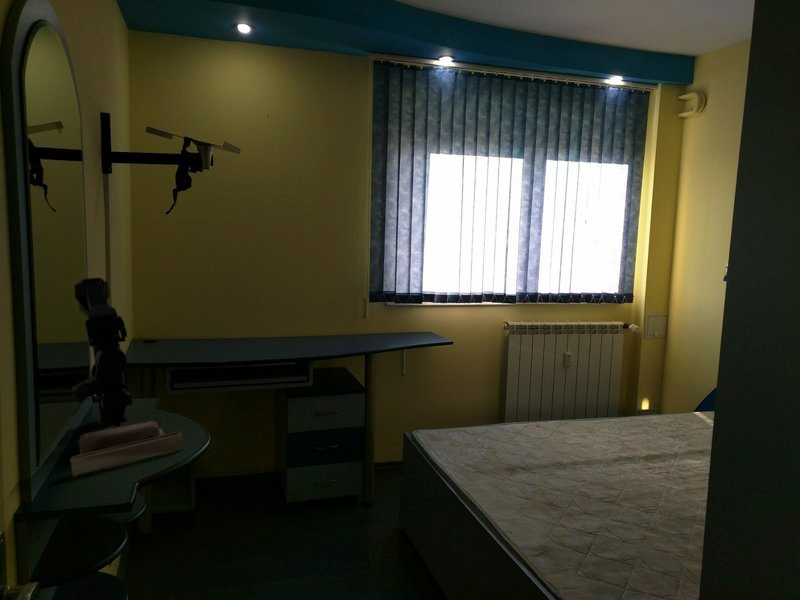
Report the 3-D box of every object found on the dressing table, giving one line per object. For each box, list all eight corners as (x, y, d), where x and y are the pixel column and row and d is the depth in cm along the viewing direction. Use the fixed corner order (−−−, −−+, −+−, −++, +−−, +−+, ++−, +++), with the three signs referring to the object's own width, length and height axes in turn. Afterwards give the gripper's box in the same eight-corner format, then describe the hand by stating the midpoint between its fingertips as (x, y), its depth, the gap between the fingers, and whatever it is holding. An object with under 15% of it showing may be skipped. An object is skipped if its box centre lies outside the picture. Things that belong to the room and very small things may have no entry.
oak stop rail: (72, 473, 122) (69, 456, 121) (181, 446, 133) (180, 430, 133) (73, 477, 120) (70, 459, 120) (183, 449, 132) (182, 433, 131)
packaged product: (77, 444, 126) (77, 430, 135) (80, 465, 127) (79, 450, 136) (166, 425, 135) (160, 413, 144) (168, 445, 136) (162, 432, 144)
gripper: (68, 363, 144) (77, 423, 147) (73, 379, 129) (83, 446, 131) (118, 355, 150) (125, 413, 153) (128, 370, 135) (137, 434, 137)
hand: (117, 426), depth 143 cm, fingers closed
